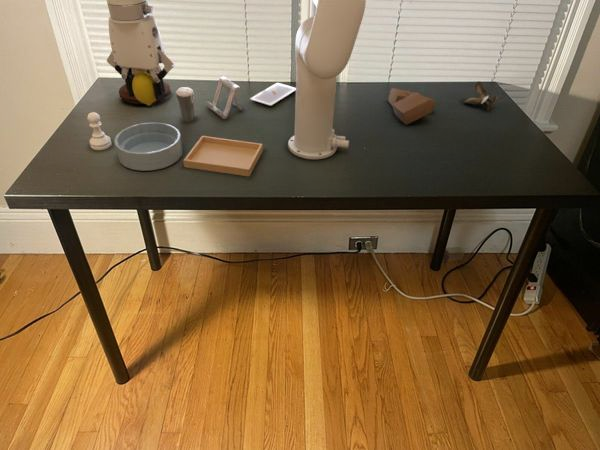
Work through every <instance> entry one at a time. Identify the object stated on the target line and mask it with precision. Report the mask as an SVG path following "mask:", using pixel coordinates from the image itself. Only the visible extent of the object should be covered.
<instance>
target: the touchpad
mask: <svg viewBox="0 0 600 450" xmlns="http://www.w3.org/2000/svg"><path fill="white" fill-rule="evenodd" d="M293 92H296V86H295V87H294V86H290V85H287V84H285V83H280V82H276V83H274V84H272V85H270V86H269V87H267V88H266V89H264V90H262V91H260V92H258V93H256V94H255V95H253V96H251V97H250V98H249V100H251V101H254V102H258V103H261V104H264V105H267V106H273V105H274V104H276V103H278V102H279V101H280V100H283V99H285V98H286V97H288V96H289V95H290V94H292V93H293Z"/></svg>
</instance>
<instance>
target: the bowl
mask: <svg viewBox="0 0 600 450" xmlns="http://www.w3.org/2000/svg"><path fill="white" fill-rule="evenodd" d="M113 142H114V146H115V149H116V153H117V157H118V162H119V163H120V164H121V165H122V166H124V168H128V169H130V170H135V171H141V172H143V171H145V172H146V171H147V172H148V171H156V170H160V169H165V168H167V167H170V166H172V165H174V164H175V163H177V162H179V160H180V159H181V157H182V156H183V152H184V148H183V142H182V136H181V132H180V130H179V129H178V128H176V127H175V126H174V125H171V124H168V123H164V122H157V121H155V122H153V121H152V122H142V123H136V124H133V125H130V126H128V127H125V128H124V129H122V130H120V131H119V132H118V133H117V134H115V137H114V139H113Z"/></svg>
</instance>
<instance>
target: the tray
mask: <svg viewBox="0 0 600 450" xmlns="http://www.w3.org/2000/svg"><path fill="white" fill-rule="evenodd" d="M263 152H264V144H263V143H259V142H252V141H251V142H250V141H246V140H245V141H244V140H238V139H229V138H222V137H214V136H209V135H208V136H207V135H201V136H200V138H199V139H198V141H197V142H195V144H194V145H193V147H192V148H191V149H190V151H189V152H188V153H187V155H186V156H185V157H184V158H183V167H184V168H188V169H194V170H202V171H209V172H215V173H222V174H228V175H236V176H243V177H249V178H250V176H251V174H252V173H253V171H254V169H255V166H256V165H257V163H258V161H259V159H260V157H261V156H262V153H263Z"/></svg>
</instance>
